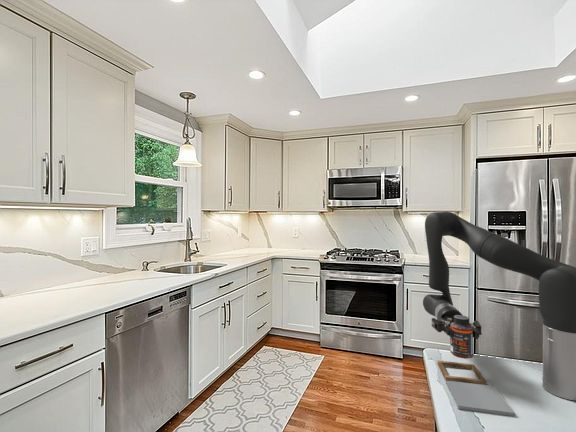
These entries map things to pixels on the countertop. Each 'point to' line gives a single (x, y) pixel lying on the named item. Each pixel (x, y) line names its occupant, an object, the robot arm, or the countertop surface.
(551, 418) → the countertop surface
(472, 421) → the countertop surface
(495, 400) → the plate
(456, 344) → the supplement bottle
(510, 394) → the countertop surface
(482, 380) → the walnut frame
